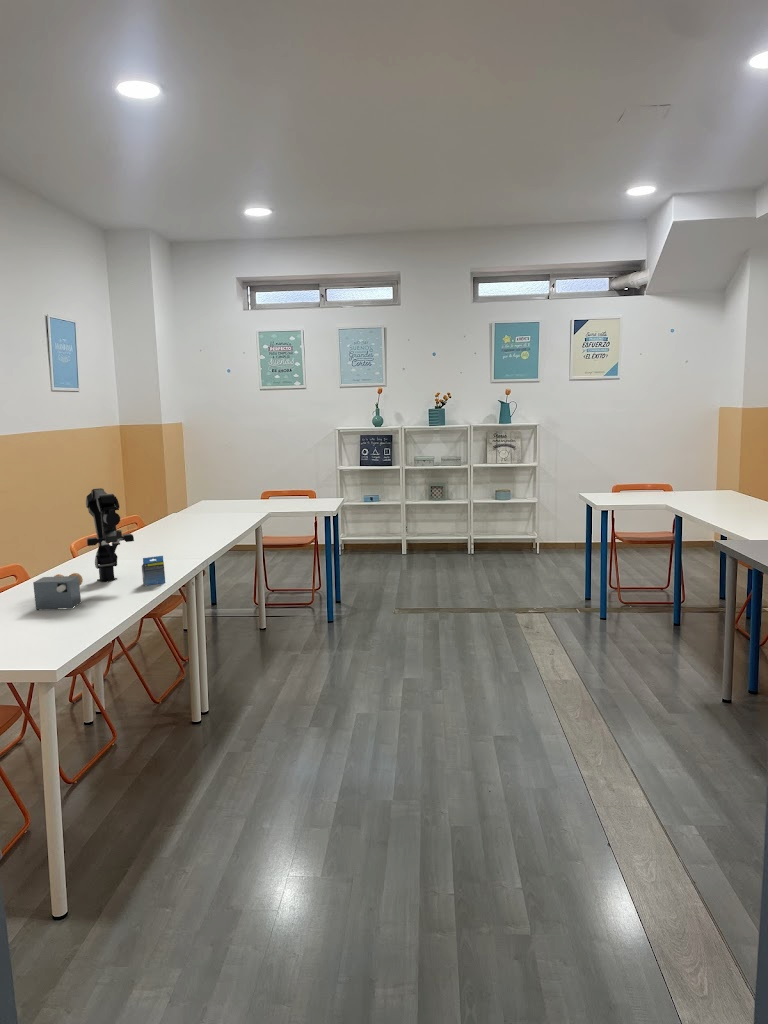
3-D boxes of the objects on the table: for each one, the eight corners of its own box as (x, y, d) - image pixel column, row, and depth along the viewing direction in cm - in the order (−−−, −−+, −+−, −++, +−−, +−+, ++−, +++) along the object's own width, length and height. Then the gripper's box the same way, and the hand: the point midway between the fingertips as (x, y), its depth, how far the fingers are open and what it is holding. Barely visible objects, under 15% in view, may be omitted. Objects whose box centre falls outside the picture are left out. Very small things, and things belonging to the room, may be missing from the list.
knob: (69, 586, 303) (68, 573, 302) (83, 586, 303) (82, 572, 302) (53, 596, 287) (51, 582, 286) (67, 596, 287) (66, 582, 286)
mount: (50, 601, 303) (47, 574, 302) (85, 599, 303) (82, 573, 302) (36, 610, 290) (33, 582, 289) (72, 608, 291) (69, 581, 289)
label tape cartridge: (163, 581, 332) (161, 554, 330) (165, 583, 328) (163, 555, 327) (142, 584, 328) (140, 556, 326) (144, 585, 324) (142, 558, 322)
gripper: (86, 528, 309) (90, 565, 311) (133, 523, 317) (136, 559, 319) (85, 524, 319) (88, 560, 321) (130, 520, 327) (133, 555, 329)
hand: (112, 559), depth 322 cm, fingers closed
